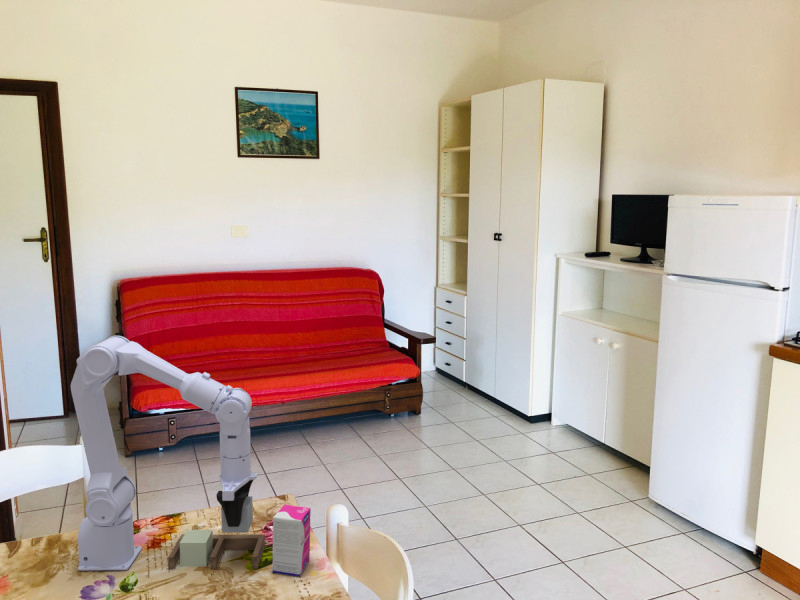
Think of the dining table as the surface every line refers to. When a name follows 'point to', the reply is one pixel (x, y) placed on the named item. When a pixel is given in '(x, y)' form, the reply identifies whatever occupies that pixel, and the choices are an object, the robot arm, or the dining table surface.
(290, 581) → the dining table surface
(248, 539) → the comb rack
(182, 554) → the sage block
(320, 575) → the dining table surface
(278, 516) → the supplement box
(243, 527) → the slate block
